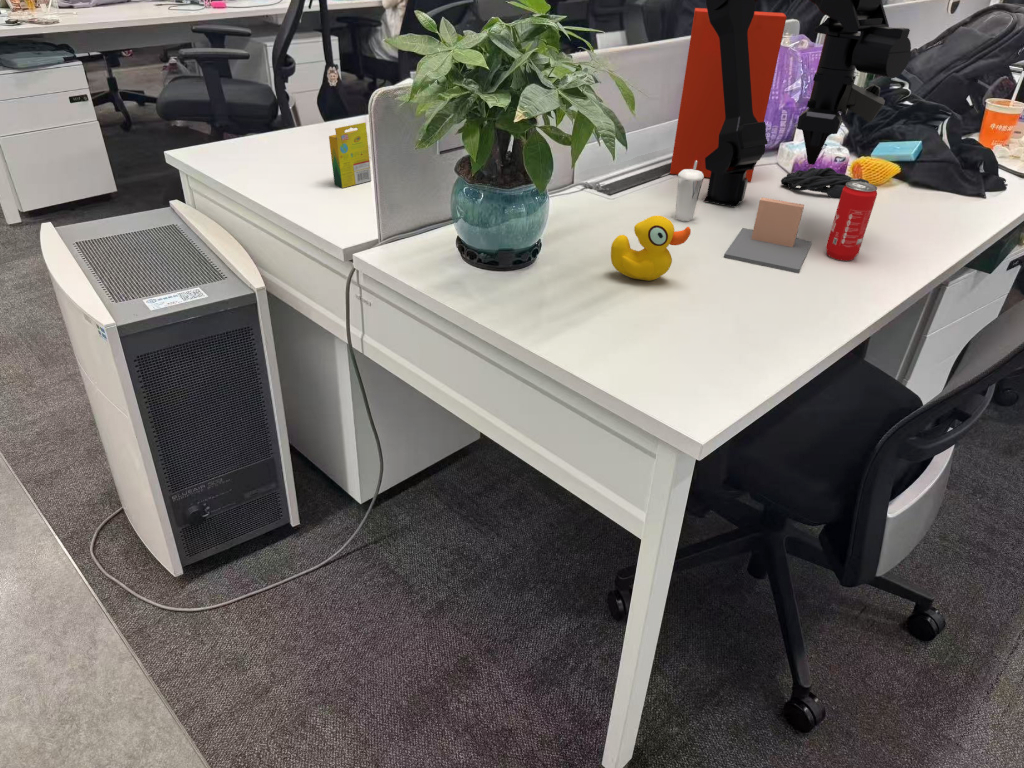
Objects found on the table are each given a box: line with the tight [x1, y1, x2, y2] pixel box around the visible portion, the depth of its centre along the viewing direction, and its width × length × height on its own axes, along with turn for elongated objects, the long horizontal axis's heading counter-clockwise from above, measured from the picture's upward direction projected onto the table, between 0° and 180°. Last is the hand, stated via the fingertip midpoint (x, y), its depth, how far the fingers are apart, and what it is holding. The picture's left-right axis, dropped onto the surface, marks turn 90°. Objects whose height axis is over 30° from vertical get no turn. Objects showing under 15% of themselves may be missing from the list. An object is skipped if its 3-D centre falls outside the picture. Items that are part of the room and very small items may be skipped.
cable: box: [780, 167, 870, 199], centre depth 152 cm, size 17×14×4 cm
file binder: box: [669, 7, 787, 183], centre depth 150 cm, size 8×17×32 cm, turn 77°
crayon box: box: [328, 122, 372, 189], centre depth 142 cm, size 7×3×12 cm, turn 136°
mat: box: [723, 227, 812, 274], centre depth 122 cm, size 12×14×1 cm
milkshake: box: [674, 161, 705, 222], centre depth 132 cm, size 4×5×10 cm
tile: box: [751, 196, 805, 247], centre depth 122 cm, size 7×2×7 cm, turn 63°
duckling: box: [610, 215, 692, 282], centre depth 109 cm, size 11×5×10 cm, turn 78°
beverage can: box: [825, 181, 878, 262], centre depth 118 cm, size 5×5×12 cm
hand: (811, 163), depth 125 cm, fingers closed
